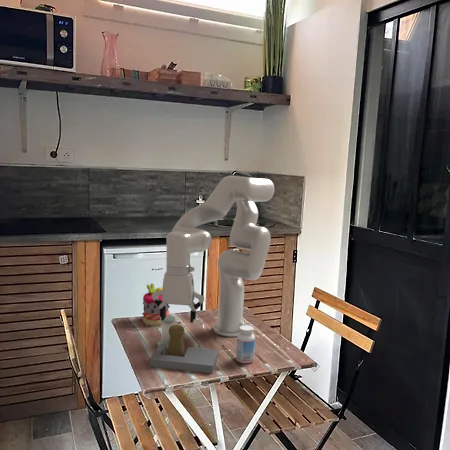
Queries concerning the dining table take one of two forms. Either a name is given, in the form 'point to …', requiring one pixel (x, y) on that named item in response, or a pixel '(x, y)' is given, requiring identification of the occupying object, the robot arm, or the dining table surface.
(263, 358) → the dining table surface
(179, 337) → the cork
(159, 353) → the gray block
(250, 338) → the pill bottle
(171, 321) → the bobbin post
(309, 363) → the dining table surface
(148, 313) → the cake
